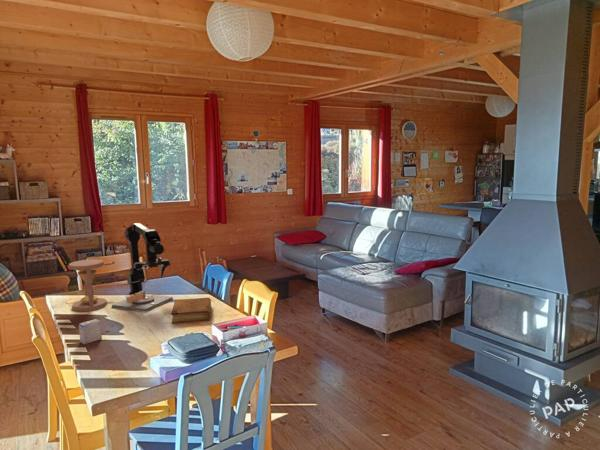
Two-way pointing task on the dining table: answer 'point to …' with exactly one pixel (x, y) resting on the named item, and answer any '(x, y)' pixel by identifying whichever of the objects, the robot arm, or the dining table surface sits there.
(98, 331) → the medicine box
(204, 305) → the diary
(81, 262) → the wooden pedestal stand
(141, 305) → the panel
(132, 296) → the dial
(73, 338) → the dining table surface
